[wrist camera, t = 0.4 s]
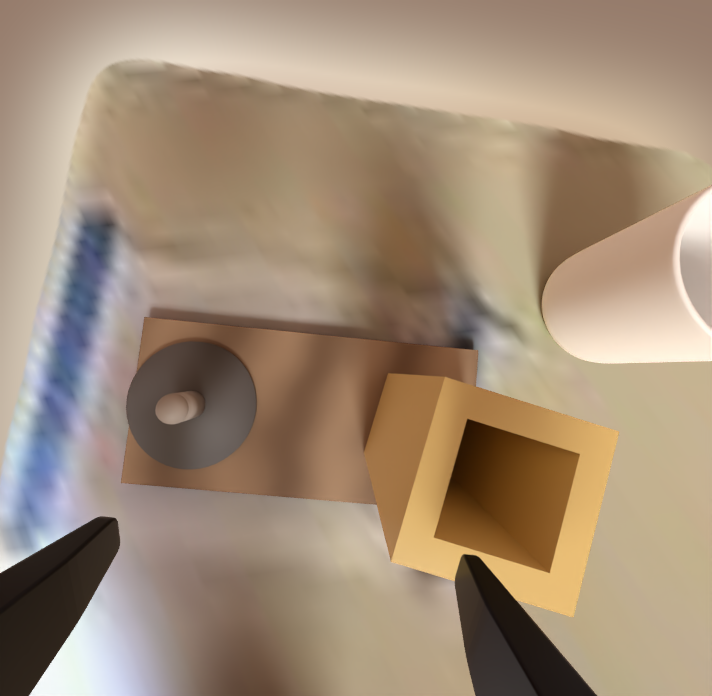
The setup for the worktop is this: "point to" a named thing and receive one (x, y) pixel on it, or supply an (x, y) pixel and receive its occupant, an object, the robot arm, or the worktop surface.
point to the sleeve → (487, 485)
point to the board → (265, 407)
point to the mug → (639, 290)
